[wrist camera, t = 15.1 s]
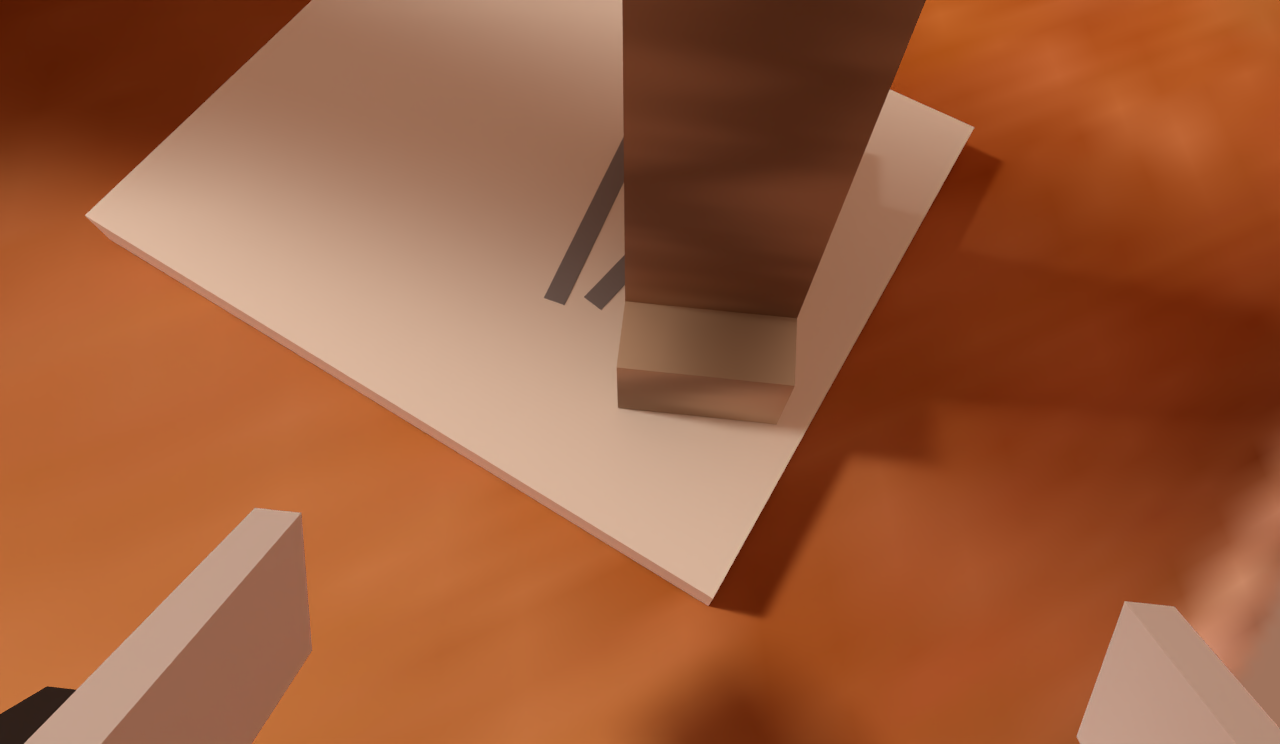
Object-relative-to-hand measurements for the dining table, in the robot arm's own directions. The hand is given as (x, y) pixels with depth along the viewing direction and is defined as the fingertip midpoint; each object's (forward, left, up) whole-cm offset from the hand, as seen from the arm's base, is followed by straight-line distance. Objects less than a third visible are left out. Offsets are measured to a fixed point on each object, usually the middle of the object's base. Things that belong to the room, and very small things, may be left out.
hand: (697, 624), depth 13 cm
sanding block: (-4, +9, -5) cm, 12 cm away
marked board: (-10, +9, -7) cm, 15 cm away
